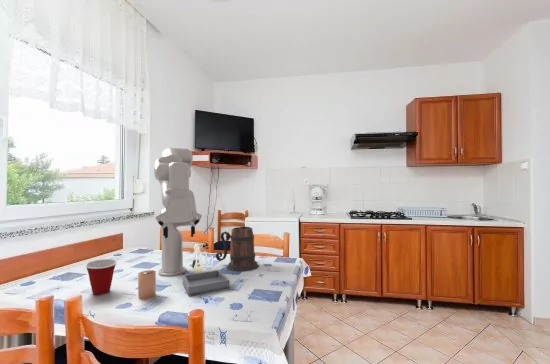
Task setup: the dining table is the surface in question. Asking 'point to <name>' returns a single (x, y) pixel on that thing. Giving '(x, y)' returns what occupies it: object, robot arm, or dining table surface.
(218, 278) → the tray
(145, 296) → the tan cylinder
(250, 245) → the tankard
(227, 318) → the dining table surface
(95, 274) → the plastic cup
